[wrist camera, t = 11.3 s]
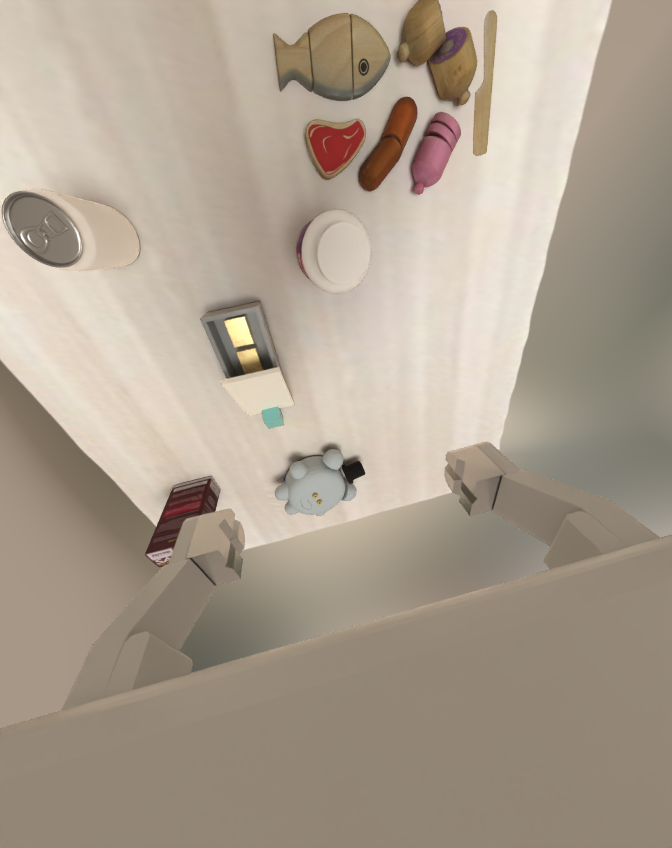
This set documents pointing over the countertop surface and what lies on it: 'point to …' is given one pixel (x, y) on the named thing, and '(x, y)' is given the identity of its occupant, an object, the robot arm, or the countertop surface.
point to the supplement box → (181, 515)
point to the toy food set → (364, 66)
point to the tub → (223, 342)
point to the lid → (261, 394)
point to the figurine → (318, 484)
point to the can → (69, 231)
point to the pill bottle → (334, 251)
